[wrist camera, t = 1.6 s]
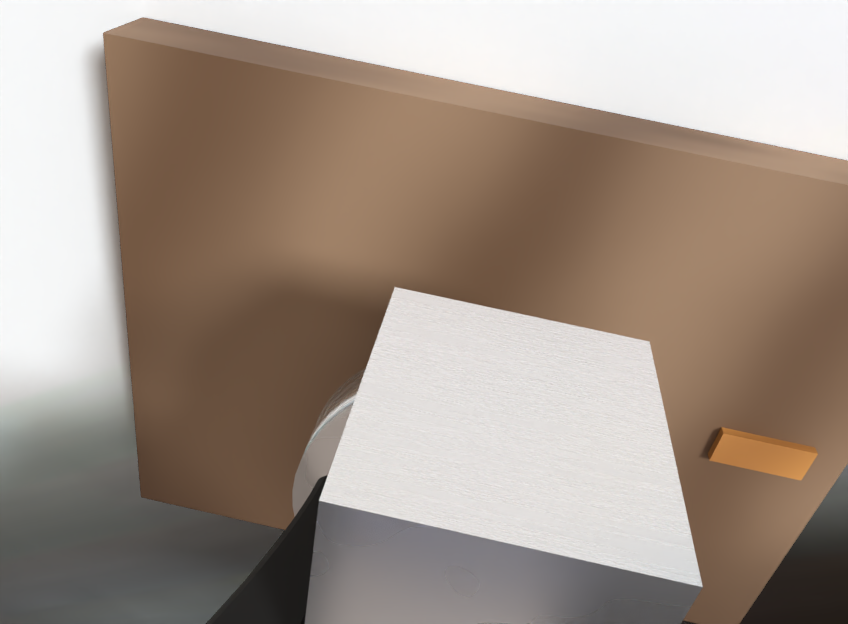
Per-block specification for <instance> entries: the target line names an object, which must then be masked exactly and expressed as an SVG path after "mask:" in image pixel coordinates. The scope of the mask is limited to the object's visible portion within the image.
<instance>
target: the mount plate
mask: <svg viewBox="0 0 848 624" xmlns="http://www.w3.org/2000/svg"><path fill="white" fill-rule="evenodd" d="M103 38H104V50H105V62H106V75H107V87H108V99H109V111H110V123H111V136H112V148H113V160H114V172H115V185H116V197H117V209H118V221H119V234H120V246H121V258H122V270H123V283H124V295H125V307H126V319H127V332H128V344H129V356H130V368H131V381H132V393H133V405H134V417H135V430H136V442H137V454H138V466H139V479H140V491H141V497H142V498H147V499H151V500H156V501H160V502H164V503H169V504H173V505H178V506H182V507H186V508H191V509H195V510H200V511H204V512H208V513H213V514H217V515H222V516H226V517H230V518H235V519H239V520H244V521H248V522H252V523H257V524H261V525H266V526H270V527H274V528H279V529H283V530H286V528H287V527H288V525H289V524H290V523H291V521H292V520H293V519H294V517H295V516H294V511H293V499H292V490H293V485H294V479H295V474H296V472H297V469H298V467H299V464H300V461H301V459H302V456H303V454H304V451H305V449H306V447H307V444H308V442H309V439H310V437H311V434H312V432H313V430H314V427H315V425H316V422H317V420H318V417H319V415H320V413H321V411H322V410H323V408H324V406H325V405H326V403H327V401H328V400H329V399H330V398H331V396H332V395H333V394H334V393H335V392H336V391H337V389H338V388H339V387H340V386H341V385H343V384H344V383H345V382H346V381H347V380H349V379H350V378H351V377H352V376H353V375H355V374H357V373H358V372H360V371H361V370H363V369H365V368H366V367H367V364H368V361H369V358H370V355H371V353H372V350H373V347H374V344H375V341H376V339H377V336H378V333H379V330H380V327H381V324H382V322H383V319H384V316H385V313H386V310H387V308H388V305H389V302H390V299H391V296H392V293H393V291H394V288H395V287H397V288H402V289H407V290H411V291H416V292H421V293H425V294H430V295H435V296H439V297H444V298H449V299H453V300H458V301H463V302H467V303H472V304H477V305H481V306H486V307H491V308H495V309H500V310H505V311H509V312H514V313H519V314H523V315H528V316H533V317H537V318H542V319H547V320H551V321H556V322H561V323H565V324H570V325H575V326H579V327H584V328H589V329H593V330H598V331H603V332H607V333H612V334H617V335H621V336H626V337H631V338H635V339H640V340H645V341H649V342H650V346H651V351H652V355H653V360H654V365H655V369H656V374H657V378H658V383H659V388H660V392H661V397H662V401H663V406H664V411H665V415H666V420H667V425H668V429H669V434H670V438H671V443H672V448H673V452H674V457H675V461H676V466H677V471H678V475H679V480H680V484H681V489H682V494H683V498H684V503H685V508H686V512H687V517H688V521H689V526H690V531H691V535H692V540H693V544H694V549H695V554H696V558H697V563H698V567H699V572H700V577H701V581H702V586H703V588H702V589H701V591H700V593H699V594H698V596H697V598H696V599H695V601H694V603H693V604H692V606H691V608H690V609H689V611H688V613H687V614H686V616H685V618H684V619H683V620H684V621H688V622H693V623H697V624H740V622H741V621H742V619H743V618H744V616H745V615H746V613H747V612H748V610H749V609H750V607H751V606H752V604H753V603H754V601H755V600H756V598H757V597H758V595H759V594H760V592H761V591H762V590H763V588H764V587H765V585H766V584H767V582H768V581H769V579H770V578H771V576H772V575H773V573H774V572H775V570H776V569H777V567H778V566H779V564H780V563H781V561H782V560H783V558H784V557H785V555H786V554H787V552H788V551H789V549H790V548H791V547H792V545H793V544H794V542H795V541H796V539H797V538H798V536H799V535H800V533H801V532H802V530H803V529H804V527H805V526H806V524H807V523H808V521H809V520H810V518H811V517H812V515H813V514H814V512H815V511H816V509H817V508H818V507H819V505H820V504H821V502H822V501H823V499H824V498H825V496H826V495H827V493H828V492H829V490H830V489H831V487H832V486H833V484H834V483H835V481H836V480H837V478H838V477H839V475H840V474H841V472H842V471H843V469H844V468H845V466H846V465H847V464H848V161H847V160H842V159H837V158H832V157H827V156H822V155H817V154H812V153H807V152H802V151H797V150H792V149H788V148H783V147H778V146H773V145H768V144H763V143H758V142H753V141H748V140H743V139H738V138H733V137H729V136H724V135H719V134H714V133H709V132H704V131H699V130H694V129H689V128H684V127H679V126H674V125H670V124H665V123H660V122H655V121H650V120H645V119H640V118H635V117H630V116H625V115H620V114H615V113H611V112H606V111H601V110H596V109H591V108H586V107H581V106H576V105H571V104H566V103H561V102H557V101H552V100H547V99H542V98H537V97H532V96H527V95H522V94H517V93H512V92H507V91H502V90H498V89H493V88H488V87H483V86H478V85H473V84H468V83H463V82H458V81H453V80H448V79H443V78H439V77H434V76H429V75H424V74H419V73H414V72H409V71H404V70H399V69H394V68H389V67H384V66H380V65H375V64H370V63H365V62H360V61H355V60H350V59H345V58H340V57H335V56H330V55H325V54H321V53H316V52H311V51H306V50H301V49H296V48H291V47H286V46H281V45H276V44H271V43H267V42H262V41H257V40H252V39H247V38H242V37H237V36H232V35H227V34H222V33H217V32H212V31H208V30H203V29H198V28H193V27H188V26H183V25H178V24H173V23H168V22H163V21H158V20H153V19H149V18H144V17H143V18H140V19H137V20H135V21H132V22H130V23H127V24H124V25H122V26H119V27H117V28H114V29H111V30H109V31H106V32H104V33H103Z"/></svg>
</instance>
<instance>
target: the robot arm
mask: <svg viewBox="0 0 848 624" xmlns="http://www.w3.org/2000/svg"><path fill="white" fill-rule="evenodd" d="M326 479H327V475H326V476H323V477H321V478H319V479H318V481H317V483H316V484H315V486H314V488H313V490H312V491H311V493H310V495H309V496H308V498H307V499H306V501H305V502H304V504H303V506H302V507H301V508H300V510H299V511H298V513H297V514H296V516H295V517H294V519H293V520H292V521H291V523H290V524H289V525H288V527H287V528H286V530H285V531H284V532H283V534H282V535H281V536H280V538H279V539H278V540H277V542H276V543H275V544H274V545H273V547H272V548H271V549H270V550H269V552H268V553H267V554H266V555H265V557H264V558H263V559H262V560H261V561H260V563H259V564H258V565H257V566H256V568H255V569H254V570H253V571H252V573H251V574H250V575H249V576H248V577H247V579H246V580H245V581H244V582H243V583H242V584H241V585H240V587H239V588H238V589H237V590H236V591H235V592H234V593H233V594H232V595H231V597H230V598H229V599H228V600H227V601H226V602H225V603H224V604H223V605H222V606H221V608H220V609H219V610H218V611H217V612H216V613H215V614H214V615H213V616H212V618H211V619H210V620H209V621H208V622H207V623H206V624H305V617H306V608H307V599H308V591H309V582H310V573H311V565H312V556H313V547H314V539H315V530H316V521H317V513H318V504H319V499H320V496H321V493H322V491H323V488H324V485H325V482H326Z"/></svg>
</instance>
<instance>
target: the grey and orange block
mask: <svg viewBox="0 0 848 624" xmlns="http://www.w3.org/2000/svg"><path fill="white" fill-rule="evenodd" d="M326 475H327V479H326V482H325V485H324V488H323V491H322V493H321V496H320V499H319V504H318V513H317V521H316V530H315V539H314V547H313V556H312V565H311V573H310V582H309V591H308V599H307V608H306V617H305V624H681V623H682V621H683V619H684V618H685V616H686V614H687V613H688V611H689V609H690V608H691V606H692V604H693V603H694V601H695V599H696V598H697V596H698V594H699V593H700V591H701V589H702V588H703V586H702V581H701V577H700V572H699V567H698V563H697V558H696V554H695V549H694V544H693V540H692V535H691V531H690V526H689V521H688V517H687V512H686V508H685V503H684V498H683V494H682V489H681V484H680V480H679V475H678V471H677V466H676V461H675V457H674V452H673V448H672V443H671V438H670V434H669V429H668V425H667V420H666V415H665V411H664V406H663V401H662V397H661V392H660V388H659V383H658V378H657V374H656V369H655V365H654V360H653V355H652V351H651V346H650V342H649V341H645V340H640V339H635V338H631V337H626V336H621V335H617V334H612V333H607V332H603V331H598V330H593V329H589V328H584V327H579V326H575V325H570V324H565V323H561V322H556V321H551V320H547V319H542V318H537V317H533V316H528V315H523V314H519V313H514V312H509V311H505V310H500V309H495V308H491V307H486V306H481V305H477V304H472V303H467V302H463V301H458V300H453V299H449V298H444V297H439V296H435V295H430V294H425V293H421V292H416V291H411V290H407V289H402V288H397V287H395V288H394V291H393V293H392V296H391V299H390V302H389V305H388V308H387V310H386V313H385V316H384V319H383V322H382V324H381V327H380V330H379V333H378V336H377V339H376V341H375V344H374V347H373V350H372V353H371V355H370V358H369V361H368V364H367V367H366V368H365V369H363V370H361V371H360V372H358V373H357V374H355V375H353V376H352V377H351V378H350V379H349V380H347V381H346V382H345V383H344V384H343V385H341V386H340V387H339V388H338V389H337V391H336V392H335V393H334V394H333V395H332V396H331V398H330V399H329V400H328V401H327V403H326V405H325V406H324V408H323V410H322V411H321V413H320V415H319V417H318V420H317V422H316V425H315V427H314V430H313V432H312V434H311V437H310V439H309V442H308V444H307V447H306V449H305V451H304V454H303V456H302V459H301V461H300V464H299V467H298V469H297V472H296V474H295V479H294V485H293V490H292V499H293V511H294V516H296V514H297V513H298V511H299V510H300V508H301V507H302V506H303V504H304V502H305V501H306V499H307V498H308V496H309V495H310V493H311V491H312V490H313V488H314V486H315V484H316V483H317V481H318V479H319V478H321V477H323V476H326Z"/></svg>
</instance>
